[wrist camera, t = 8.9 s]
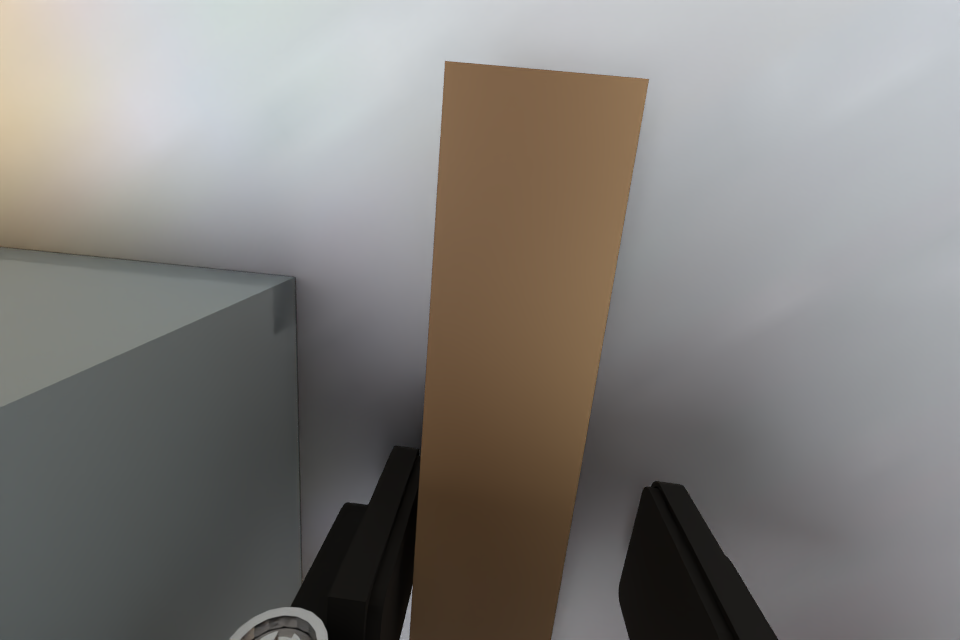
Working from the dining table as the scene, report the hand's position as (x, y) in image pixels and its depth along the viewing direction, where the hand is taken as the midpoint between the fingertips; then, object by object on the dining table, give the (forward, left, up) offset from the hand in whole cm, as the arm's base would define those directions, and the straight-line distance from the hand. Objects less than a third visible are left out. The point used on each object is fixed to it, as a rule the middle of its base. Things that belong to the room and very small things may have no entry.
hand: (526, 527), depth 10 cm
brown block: (+1, 0, -1) cm, 2 cm away
